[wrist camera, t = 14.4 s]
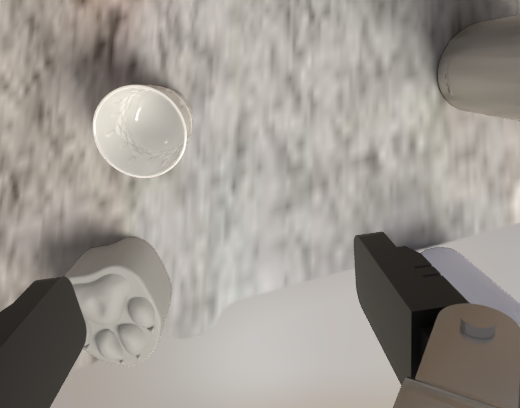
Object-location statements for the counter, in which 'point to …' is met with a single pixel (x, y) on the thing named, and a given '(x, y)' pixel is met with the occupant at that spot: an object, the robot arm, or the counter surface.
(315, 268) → the counter surface
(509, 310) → the soap bottle
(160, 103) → the white cup
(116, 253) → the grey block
